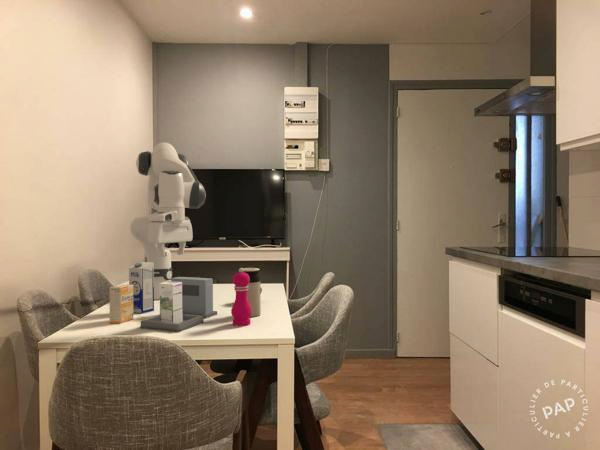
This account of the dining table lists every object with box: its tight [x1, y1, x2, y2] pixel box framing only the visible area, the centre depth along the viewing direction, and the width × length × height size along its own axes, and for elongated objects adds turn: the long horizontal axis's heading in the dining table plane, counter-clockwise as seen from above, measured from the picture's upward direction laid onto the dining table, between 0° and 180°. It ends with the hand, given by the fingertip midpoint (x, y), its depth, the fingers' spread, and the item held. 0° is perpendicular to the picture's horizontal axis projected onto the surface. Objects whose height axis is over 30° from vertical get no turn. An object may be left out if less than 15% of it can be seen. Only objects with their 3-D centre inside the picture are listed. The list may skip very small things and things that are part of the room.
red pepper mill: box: [230, 267, 252, 327], centre depth 155 cm, size 7×7×20 cm
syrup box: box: [159, 281, 183, 323], centre depth 153 cm, size 6×6×14 cm
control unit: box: [171, 276, 218, 320], centre depth 171 cm, size 18×8×14 cm, turn 68°
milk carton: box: [128, 261, 155, 315], centre depth 177 cm, size 7×7×20 cm
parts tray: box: [140, 314, 204, 333], centre depth 153 cm, size 16×14×2 cm
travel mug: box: [242, 267, 262, 318], centre depth 169 cm, size 8×8×18 cm
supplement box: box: [108, 283, 134, 324], centre depth 161 cm, size 8×5×13 cm, turn 168°
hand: (172, 255), depth 153 cm, fingers open, 8 cm apart
